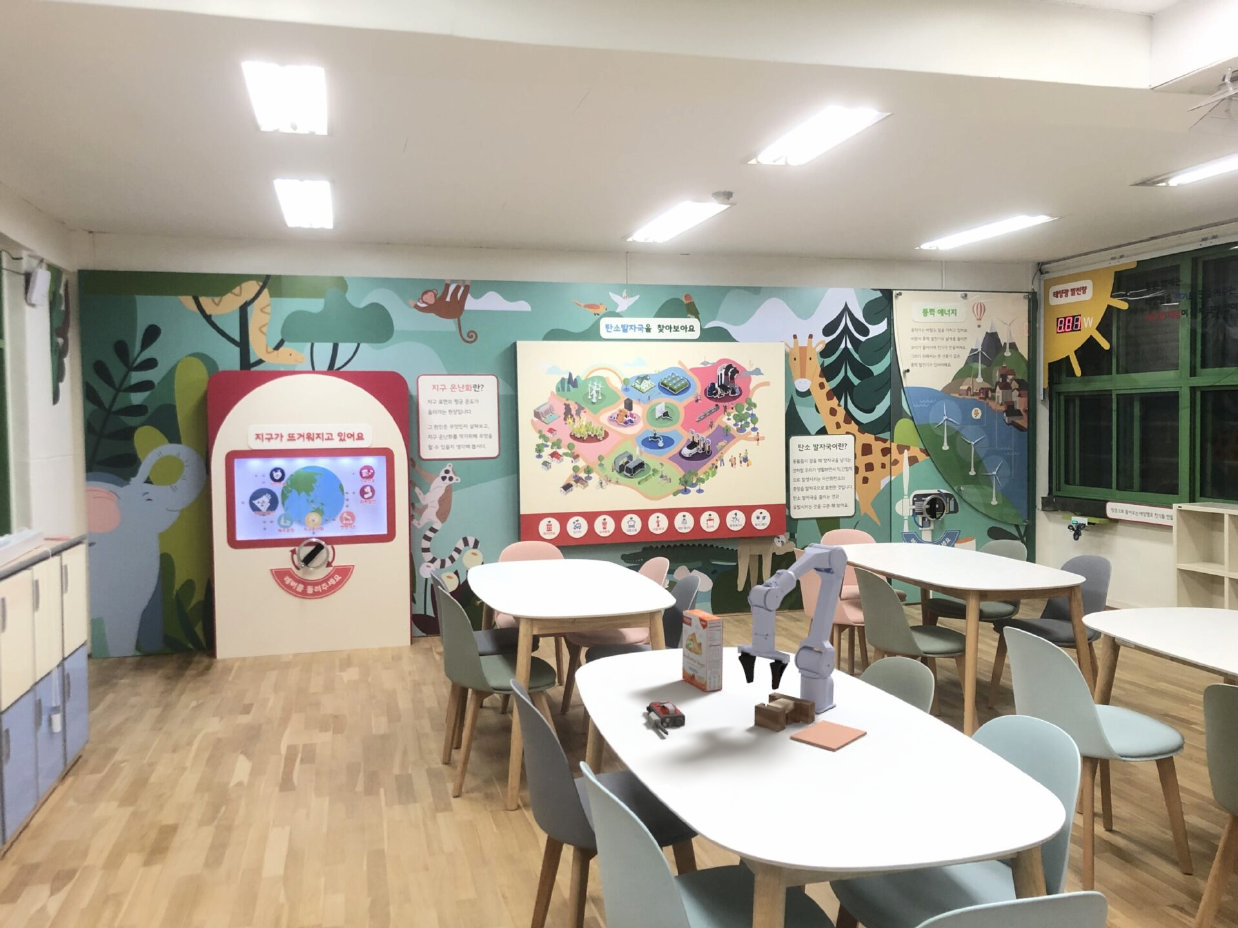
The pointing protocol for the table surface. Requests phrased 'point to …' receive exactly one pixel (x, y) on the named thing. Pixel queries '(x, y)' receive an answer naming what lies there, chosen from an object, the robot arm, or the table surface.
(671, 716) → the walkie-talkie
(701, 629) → the cracker box
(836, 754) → the table surface
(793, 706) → the slab
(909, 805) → the table surface
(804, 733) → the mat
